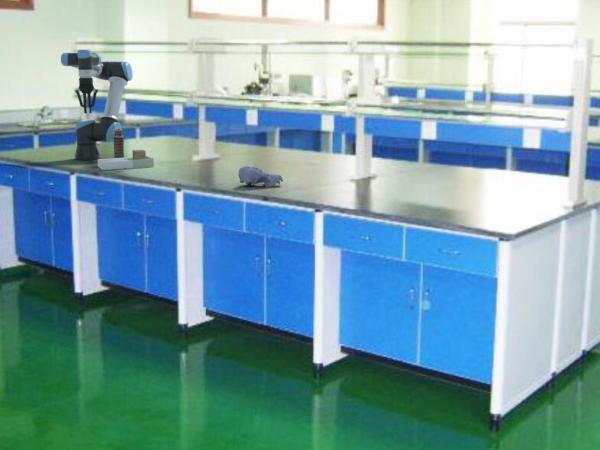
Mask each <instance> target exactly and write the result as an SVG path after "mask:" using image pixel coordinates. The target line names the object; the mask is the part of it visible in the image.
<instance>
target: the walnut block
mask: <svg viewBox="0 0 600 450" xmlns="http://www.w3.org/2000/svg"><path fill="white" fill-rule="evenodd" d="M146 156H147V153H146V150H145V149H132V157H133V160H139V159H146Z"/></svg>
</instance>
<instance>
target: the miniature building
mask: <svg viewBox="0 0 600 450" xmlns="http://www.w3.org/2000/svg"><path fill="white" fill-rule="evenodd" d="M113 137H114V139H113V140H114V142H113V154H114V155H113V158H125V150H124V149H125V147H124V146H125V143H124V142H125V139H124V138H125V137H124V135H123V129H122V128H121V129H114V136H113Z"/></svg>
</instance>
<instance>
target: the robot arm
mask: <svg viewBox="0 0 600 450" xmlns="http://www.w3.org/2000/svg"><path fill="white" fill-rule="evenodd" d="M60 63H61V65H62V66H64V67H73V68H76V69H78V77H79V78H78V84H79V85H78V88H76V89H75V90H74V92H75V94H76V95H77V99H78V101H79V102H78V103H79V107H80V108H81V107H82V108H83V114H85V118H86V120H81V121H77V122H76V123H75V133H76V134H75V135H76V136H75V138H76V148H75V152H74V160H76V161H94V160H95V161H96V160H98V159H101V153H100V151H99V148H98V145H97V143H101V142H103V143H114V140H113V139H114V137H113V136H114V129H122V125H121V123H120V120H118V118H119V113H120V107H121V104H122V98H123V94H124V89H125V86H127V85H128V82H131V81H132V80H133V69H132V66H131V63H130V62H128V61H107V60H106V61H102V56H101V55H100V54H99V53H97V52H92V50H91V49H78V50H77V52H63V53H62V54H61V56H60ZM94 78H96V79H99V80H103V81H108V82H109V87H108V91H107V97H106V100H105V101H106V102H105V107H104V111H103V116H101V117H100V118H99V121H98V122H96V120H95V119H91V115H90V114H92V108H93V107H95V104H96V98H97V94H98V92H99V89H96V88H95V87H94V80H93V79H94ZM80 92H81V93H80ZM92 92H93V94H92ZM81 94H82V97H81ZM91 94H92V97H91ZM82 98H83V99H82Z"/></svg>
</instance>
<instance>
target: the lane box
mask: <svg viewBox="0 0 600 450" xmlns="http://www.w3.org/2000/svg"><path fill="white" fill-rule="evenodd" d="M154 162H155V161H154V157H152V156H149V155H146V159H139V160H133V156H131V157H128V156H127V157H124V158H114V157H113V158H100V159H97V168H98V169H100V170H102V171H107V170H108V171H109V170H111V171H112V170H123V169H124V168H126V169H138V168H139V169H140V168H152V167H153V168H154V166H155V165H154Z"/></svg>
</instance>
